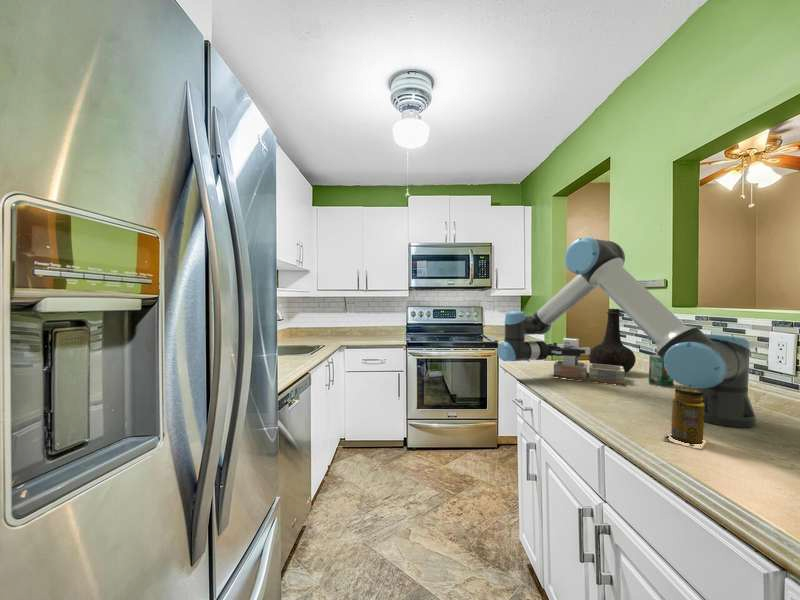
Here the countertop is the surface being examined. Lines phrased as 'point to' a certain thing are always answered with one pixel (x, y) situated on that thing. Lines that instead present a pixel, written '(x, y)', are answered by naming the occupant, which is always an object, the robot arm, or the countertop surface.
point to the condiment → (687, 416)
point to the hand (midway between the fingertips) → (579, 349)
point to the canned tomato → (658, 372)
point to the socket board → (591, 372)
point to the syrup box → (572, 344)
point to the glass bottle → (612, 346)
